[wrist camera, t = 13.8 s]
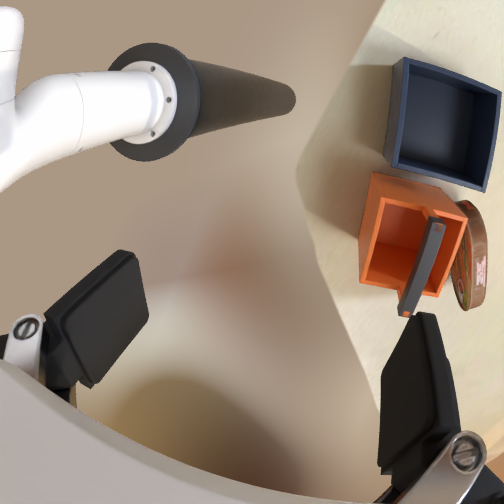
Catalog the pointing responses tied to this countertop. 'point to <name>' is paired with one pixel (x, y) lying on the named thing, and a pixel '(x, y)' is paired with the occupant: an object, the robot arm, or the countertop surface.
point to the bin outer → (441, 124)
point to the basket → (408, 238)
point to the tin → (470, 260)
